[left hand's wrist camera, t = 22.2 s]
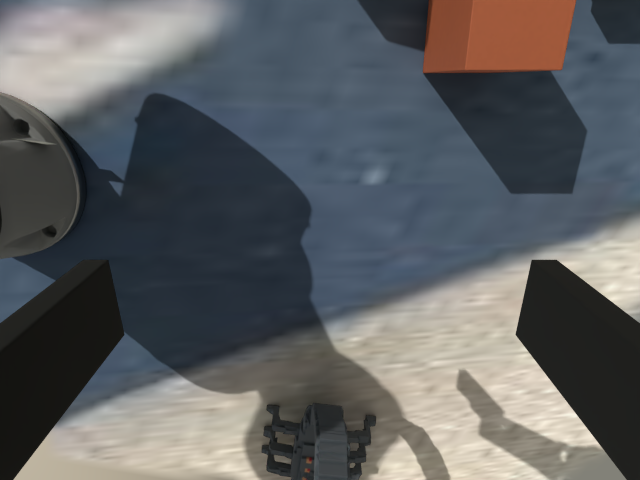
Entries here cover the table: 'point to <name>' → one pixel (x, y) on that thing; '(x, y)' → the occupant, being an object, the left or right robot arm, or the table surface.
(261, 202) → the table surface
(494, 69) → the reddish brown block
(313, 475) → the toy
